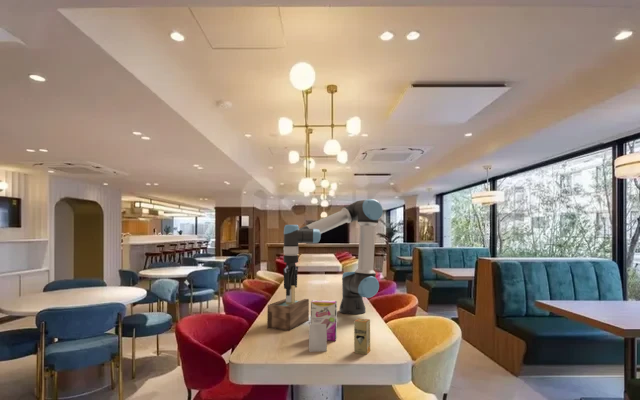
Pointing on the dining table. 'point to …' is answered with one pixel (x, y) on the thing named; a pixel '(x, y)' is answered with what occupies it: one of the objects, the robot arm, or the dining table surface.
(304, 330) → the dining table surface
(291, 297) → the cover plate
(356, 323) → the shoe polish box
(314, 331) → the white rectangular block
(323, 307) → the candy bar box
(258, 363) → the dining table surface
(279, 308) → the walnut box
